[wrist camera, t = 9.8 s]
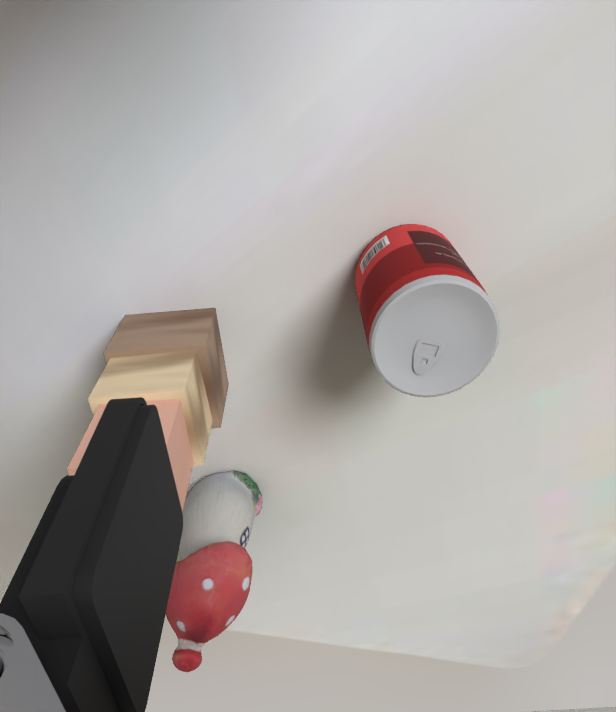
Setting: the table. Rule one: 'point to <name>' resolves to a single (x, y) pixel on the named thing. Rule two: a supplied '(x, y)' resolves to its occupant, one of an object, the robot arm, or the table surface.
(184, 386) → the oak block
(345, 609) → the table surface
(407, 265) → the canned food
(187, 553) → the decorative ornament
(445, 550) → the table surface
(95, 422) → the terracotta block
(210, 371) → the walnut base
